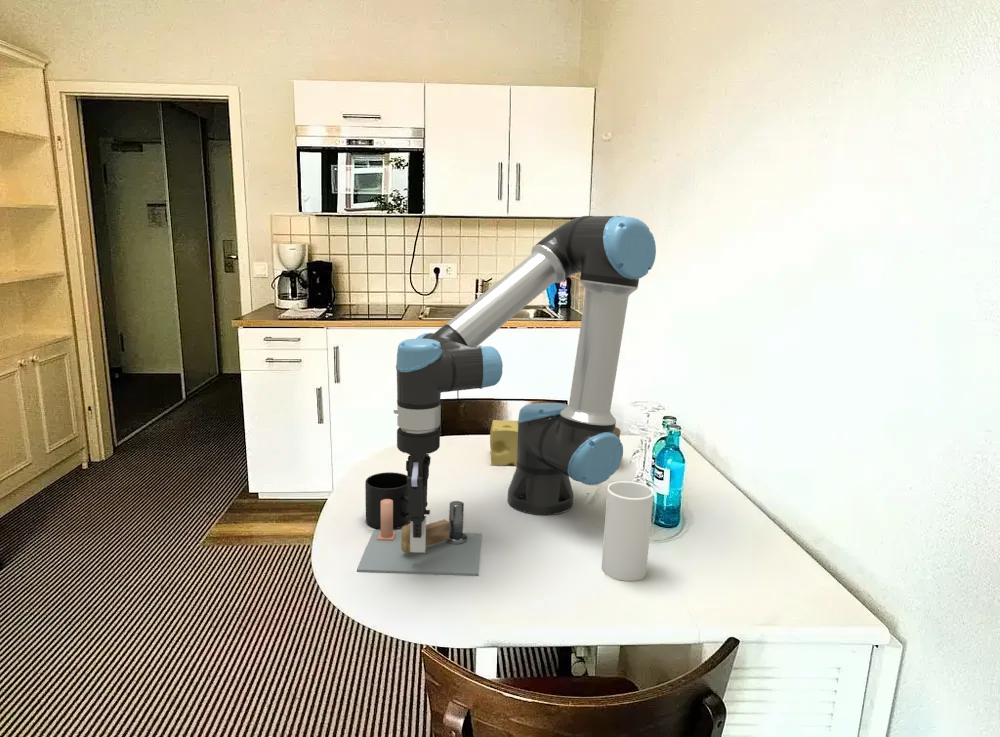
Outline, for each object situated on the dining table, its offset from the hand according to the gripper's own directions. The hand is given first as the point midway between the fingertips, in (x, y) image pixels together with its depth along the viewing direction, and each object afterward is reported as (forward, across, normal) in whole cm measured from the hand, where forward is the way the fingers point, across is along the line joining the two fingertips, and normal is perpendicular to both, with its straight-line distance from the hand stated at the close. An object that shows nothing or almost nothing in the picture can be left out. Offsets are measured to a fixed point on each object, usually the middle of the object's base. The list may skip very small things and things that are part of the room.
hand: (417, 550), depth 122 cm
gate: (+2, -6, +1) cm, 6 cm away
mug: (+4, -18, -8) cm, 20 cm away
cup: (+4, -1, +38) cm, 38 cm away
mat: (+3, -5, 0) cm, 6 cm away
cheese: (+4, -58, +18) cm, 61 cm away
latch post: (+3, -10, -7) cm, 13 cm away
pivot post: (+3, -10, +6) cm, 13 cm away
